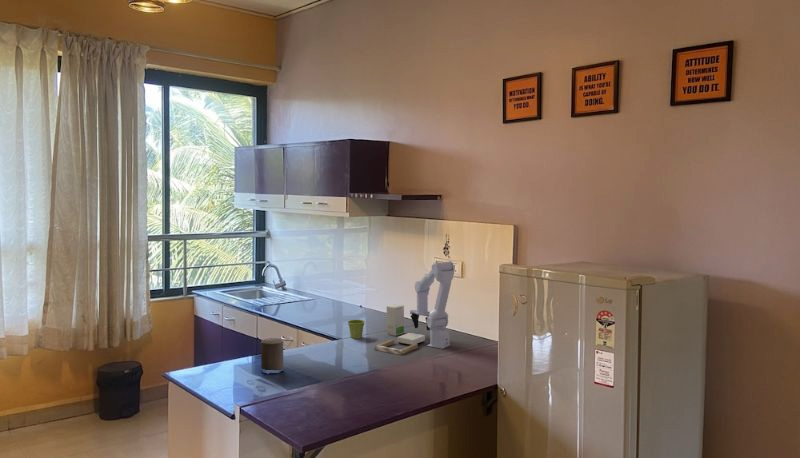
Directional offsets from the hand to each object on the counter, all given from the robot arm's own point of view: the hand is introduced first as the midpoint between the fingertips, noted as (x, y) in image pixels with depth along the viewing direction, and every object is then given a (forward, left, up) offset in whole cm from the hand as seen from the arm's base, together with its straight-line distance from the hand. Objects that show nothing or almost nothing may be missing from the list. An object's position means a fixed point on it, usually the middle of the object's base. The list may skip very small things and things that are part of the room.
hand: (422, 328), depth 313 cm
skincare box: (+18, 0, -5) cm, 19 cm away
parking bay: (0, +23, -5) cm, 24 cm away
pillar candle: (+25, +83, -5) cm, 86 cm away
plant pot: (+31, +18, -5) cm, 36 cm away
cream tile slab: (0, +11, -5) cm, 12 cm away
